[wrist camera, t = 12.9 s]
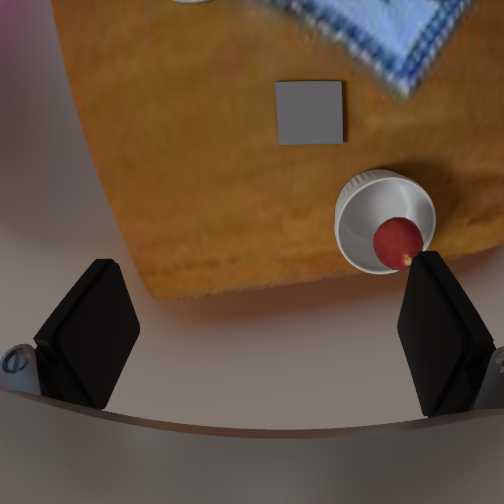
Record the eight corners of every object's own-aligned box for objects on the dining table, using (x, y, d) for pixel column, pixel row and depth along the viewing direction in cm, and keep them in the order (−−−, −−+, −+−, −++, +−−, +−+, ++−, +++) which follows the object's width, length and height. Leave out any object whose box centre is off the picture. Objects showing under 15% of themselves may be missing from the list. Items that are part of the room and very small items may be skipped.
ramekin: (418, 158, 38) (439, 173, 32) (416, 243, 45) (432, 268, 39) (324, 166, 41) (331, 182, 35) (332, 253, 47) (338, 280, 41)
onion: (414, 240, 37) (438, 277, 30) (373, 255, 39) (389, 295, 32) (405, 199, 35) (431, 230, 28) (361, 215, 36) (378, 250, 29)
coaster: (275, 82, 36) (274, 82, 35) (340, 81, 35) (341, 81, 34) (279, 143, 40) (279, 144, 39) (341, 142, 39) (342, 143, 38)
